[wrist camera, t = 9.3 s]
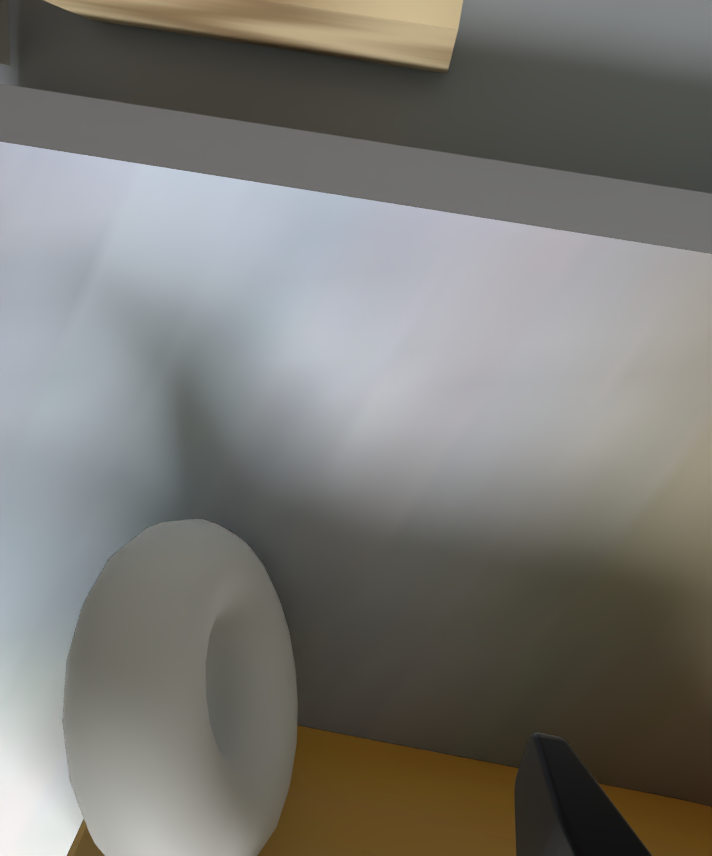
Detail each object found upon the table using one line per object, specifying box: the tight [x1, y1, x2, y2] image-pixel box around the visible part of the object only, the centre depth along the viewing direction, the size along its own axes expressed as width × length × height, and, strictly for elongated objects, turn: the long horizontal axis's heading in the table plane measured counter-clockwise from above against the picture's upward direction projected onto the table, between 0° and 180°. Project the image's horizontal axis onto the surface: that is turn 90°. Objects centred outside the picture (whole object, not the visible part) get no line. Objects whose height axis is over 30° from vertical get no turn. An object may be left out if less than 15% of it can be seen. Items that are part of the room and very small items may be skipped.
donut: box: [62, 519, 298, 856], centre depth 20 cm, size 10×4×10 cm, turn 15°
